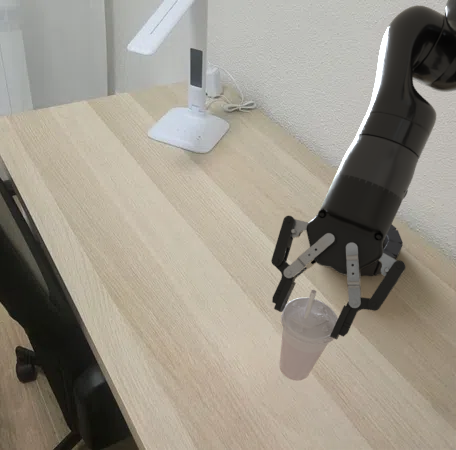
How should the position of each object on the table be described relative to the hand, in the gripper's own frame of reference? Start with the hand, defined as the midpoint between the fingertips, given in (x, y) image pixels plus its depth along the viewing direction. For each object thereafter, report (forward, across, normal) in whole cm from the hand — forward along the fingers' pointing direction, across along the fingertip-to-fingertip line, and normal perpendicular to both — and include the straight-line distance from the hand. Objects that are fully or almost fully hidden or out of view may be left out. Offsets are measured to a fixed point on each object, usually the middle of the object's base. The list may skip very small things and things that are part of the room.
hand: (305, 323), depth 61 cm
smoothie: (+6, 0, +9) cm, 11 cm away
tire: (-13, -2, +34) cm, 37 cm away
